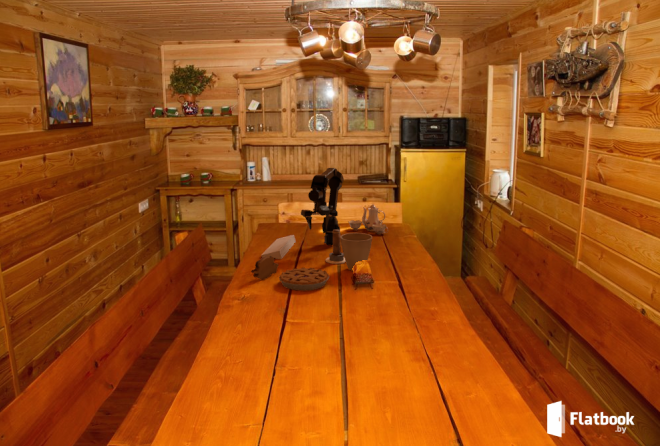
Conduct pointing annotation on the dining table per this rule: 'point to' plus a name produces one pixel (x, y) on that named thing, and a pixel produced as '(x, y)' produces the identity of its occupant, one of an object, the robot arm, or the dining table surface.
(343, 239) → the plant pot
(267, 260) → the wooden carving
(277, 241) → the decorative molding
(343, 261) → the cup bracket
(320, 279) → the pie
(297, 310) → the dining table surface
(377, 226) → the chinaware
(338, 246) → the brown tapered rod
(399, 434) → the dining table surface
